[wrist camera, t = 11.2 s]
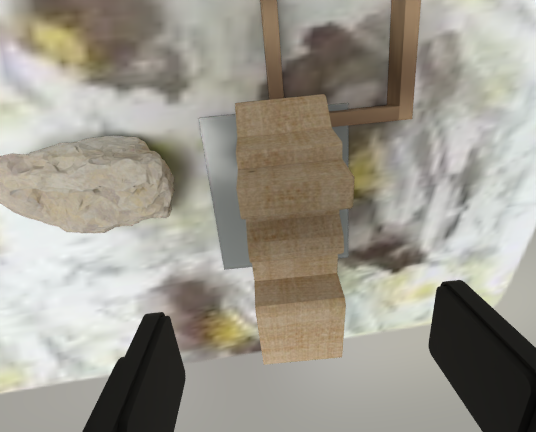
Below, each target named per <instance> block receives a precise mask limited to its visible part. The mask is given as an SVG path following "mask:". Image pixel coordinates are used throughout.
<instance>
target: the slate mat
mask: <svg viewBox="0 0 536 432" xmlns="http://www.w3.org/2000/svg"><path fill="white" fill-rule="evenodd" d="M328 110H329V111H339V110H348V103H340V104H330V105H328ZM198 119H199V125H200V131H201V137H202V143H203V148H204V154H205V160H206V166H207V172H208V178H209V183H210V189H211V195H212V201H213V207H214V213H215V218H216V224H217V230H218V236H219V242H220V248H221V253H222V259H223V265H224V270H225V269H235V268H245V267H252V263H250V260H249V253H248V244H247V230H246V219H241V216H240V209H239V203H238V196H237V190H236V188H237V175H238V166H237V159H236V146H237V126H236V114H233V115H223V116H213V117H203V118H198ZM332 129H333V130H334V132H335V133H336V134H337V136H338V137H339V138H340V140H341V141H342V145H343V146H342V159H343V161H344V162H345V164H346V165H347V167H348V125H347V126H338V127H332ZM339 214H340V219H341V225H342V230H343V235H344V253H342V254H338V258H345V257H348V209H342V210H339Z"/></svg>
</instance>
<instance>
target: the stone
mask: <svg viewBox="0 0 536 432" xmlns="http://www.w3.org/2000/svg"><path fill="white" fill-rule="evenodd" d="M173 183H174V177H173V175H172V173H171V170H170V168H169V167H168V165H167V164H166V162H165V160H163V159H161V156H160V154H158V153H156V151H150V150H149V148H148V146H147V144H146V142H145V141H142V140H140V139H139V138H137V137H124V136H103V137H97V138H89V139H84V140H81V141H79V142H73V143H59V144H57V145H54V146H51V147H47V148H44V149H41V150H39V151H35V152H31V153H29V154H13V153H12V154H8V155H3V156H0V203H1V204H3V205H4V206H5V207H7V208H8V209H10V210H11V211H13V212H15V213H17V214H20V215H22V216H24V217H27V218H30V219H35V220H38V221H41V222H44V223H46V224H49V225H54V226H58V227H60V228H61V229H63V230H64V231H66V232H80V233H105V232H107V231H109V230H111V229H113V228H114V227H120V226H132V225H133V224H136V223H139V221H141V220H144V219H149V218H167V217H168V216H170V213H171V210H172V208H171V205H170V202H171V199H172V196H173V193H174V191H175V190H174V188H173Z"/></svg>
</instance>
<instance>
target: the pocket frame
mask: <svg viewBox="0 0 536 432" xmlns="http://www.w3.org/2000/svg"><path fill="white" fill-rule="evenodd" d="M260 4H261V15H262V26H263V38H264V49H265V60H266V72H267V83H268V94H269V100H271V99H281V98H284V94H283V80H282V66H281V52H280V38H279V24H278V10H277V0H260ZM420 6H421V0H392V3H391V25H390V47H389V70H388V92H387V105H384V106H374V107H365V108H355V109H348V110H339V111H329V116H330V121H331V126H332V127H338V126H347V125H357V124H367V123H377V122H387V121H396V120H406V119H412V113H413V100H414V86H415V73H416V60H417V46H418V33H419V19H420Z"/></svg>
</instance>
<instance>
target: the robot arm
mask: <svg viewBox="0 0 536 432" xmlns="http://www.w3.org/2000/svg"><path fill="white" fill-rule="evenodd" d="M429 350H430V353H431V355H432V357H433V358H434V360H435V361H436V363H437V364H438V366H439V367H440V369H441V370H442V372H443V373H444V375H445V376H446V378H447V379H448V381H449V382H450V384H451V385H452V387H453V388H454V390H455V391H456V393H457V394H458V396H459V397H460V399H461V400H462V401H463V403H464V404H465V406H466V408H467V409H468V411H469V412H470V413H471V415H472V416H473V418H474V420H475V421H476V422H477V424H478V425H479V427H480V428H481V430H482V431H483V432H536V348H535V347H534V346H533V345H532V344H531V343H530V342H529V341H528V340H527V339H526V338H524V337H523V336H522V335H521V334H520V333H519V332H518V331H517V330H516V329H515V328H514V327H512V326H511V325H510V324H509V323H508V322H507V321H506V320H505V319H504V318H503V317H502V316H501V315H499V314H498V313H497V312H496V311H495V310H494V309H493V308H492V307H491V306H490V305H489V304H488V303H486V302H485V301H484V300H483V299H482V298H481V297H480V296H479V295H478V294H477V293H476V292H474V291H473V290H472V289H471V288H470V287H469V286H468V285H467V284H466V283H465V282H463V281H462V280H456V281H446V282H442V284H441V286H440V287H438V288H437V290H436V297H435V304H434V311H433V317H432V324H431V332H430V338H429ZM184 384H185V370H184V366H183V362H182V359H181V355H180V352H179V348H178V344H177V341H176V337H175V334H174V330H173V326H172V323H171V319H170V317H169V316H165V315H164V313H163V312H159V313H150V314H145V315H144V317H143V319H142V321H141V323H140V325H139V327H138V330H137V332H136V334H135V336H134V338H133V340H132V342H131V344H130V347H129V349H128V351H127V353H126V355H125V357H121V358H120V359H119V360H118V361H117V363H116V365H115V367H114V369H113V371H112V373H111V375H110V377H109V379H108V381H107V383H106V385H105V387H104V389H103V391H102V393H101V395H100V397H99V399H98V401H97V403H96V405H95V407H94V409H93V411H92V413H91V416H90V418H89V419H88V421H87V423H86V426H85V428H84V430H83V432H174V428H175V424H176V419H177V415H178V411H179V406H180V402H181V397H182V393H183V388H184Z"/></svg>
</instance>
